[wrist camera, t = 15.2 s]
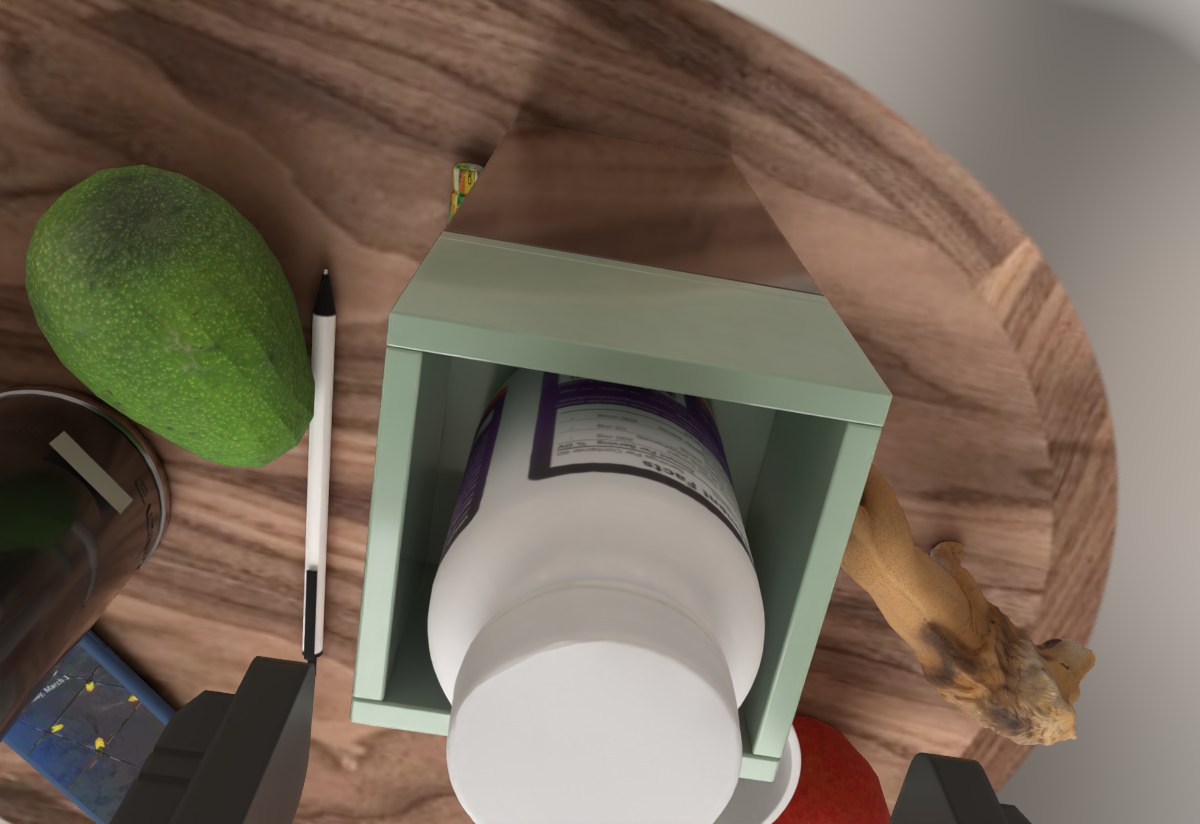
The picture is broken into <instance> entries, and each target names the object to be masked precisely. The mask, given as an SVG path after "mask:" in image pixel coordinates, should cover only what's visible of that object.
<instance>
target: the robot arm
mask: <svg viewBox="0 0 1200 824" xmlns="http://www.w3.org/2000/svg"><path fill="white" fill-rule="evenodd" d="M170 507H171V504H170V492H169V486H168V482H167V478H166V475H165V472H164V470H163V467H162V465H161V463H160V461H159V459H158V457H157V455H156V454H155V452H154V450H153V449H152V447H151V446H150V445H149V443H148V442H147V440H146V439H145V438H144V437H143V436H142V435H141V433H140V432H139V431H138V430H137V429H136V428H135V427H134V426H133V425H132V424H131V423H130V422H129V421H127V420H126V419H125V418H124V417H122V416H121V415H120V414H118V413H117V412H116V411H114V410H113V409H111V408H110V407H108V406H106V405H104V404H103V403H101V402H99V401H97V400H95V399H93V398H91V397H89V396H86V395H83V394H81V393H78V392H75V391H71V390H68V389H64V388H59V387H53V386H44V385H27V386H17V387H11V388H7V389H3V390H0V742H1V741H2V739H3V738H4V737H5V736H6V734H7V733H8V732H9V731H10V729H11V728H12V727H13V726H14V724H15V723H16V722H17V721H18V719H19V718H20V717H21V715H22V714H23V713H24V712H25V710H26V709H27V708H28V707H29V705H30V704H31V703H32V702H33V700H34V699H35V698H36V697H37V695H38V694H39V693H40V692H41V690H42V689H43V688H44V686H45V685H46V684H47V683H48V681H49V680H50V679H51V678H52V676H53V675H54V674H55V673H56V671H57V670H58V669H59V668H60V666H61V665H62V664H63V663H64V661H65V660H66V659H67V657H68V656H69V655H70V654H71V652H72V651H73V650H74V649H75V647H76V646H77V645H78V644H79V642H80V641H81V640H82V639H83V637H84V636H85V635H86V634H87V632H88V631H89V630H90V628H91V627H92V626H93V625H94V623H95V622H96V621H97V620H98V618H99V617H100V616H101V615H102V613H103V612H104V611H105V610H106V608H107V607H108V606H109V605H110V603H111V602H112V601H113V599H114V598H115V597H116V596H117V594H118V593H119V592H120V591H121V589H122V588H123V587H124V586H125V584H126V583H127V582H128V580H129V579H130V578H131V577H132V575H133V574H134V573H135V572H137V571H138V570H139V569H140V568H141V567H142V566H143V565H144V564H145V563H146V562H147V560H148V559H149V558H150V557H151V555H152V554H153V553H154V552H155V550H156V549H157V548H158V546H159V544H160V543H161V541H162V539H163V537H164V535H165V533H166V529H167V526H168V522H169V517H170ZM314 685H315V666H314V664H311V663H304V662H297V661H290V660H283V659H276V658H269V657H262V656H256V657H255V658H254V659H253V661H252V663H251V664H250V666H249V668H248V670H247V672H246V674H245V676H244V678H243V680H242V682H241V684H240V686H239V688H238V690H237V692H236V694H229V693H222V692H215V691H207V690H205V691H203V692H202V693H201V694H200V695H198V696H197V697H196V698H194V699H193V700H192V701H190V702H189V703H188V704H186V705H185V706H184V707H183V708H181V709H180V710H179V711H177V712H176V713H175V714H173V715H172V717H171V719H170V720H169V722H168V724H167V726H166V727H165V729H164V731H163V732H162V734H161V736H160V738H159V739H158V741H157V743H156V744H155V746H154V751H153V753H150V755H149V756H148V758H147V760H146V761H145V763H144V765H143V767H142V768H141V770H140V772H139V776H138V779H135V780H134V782H133V784H132V785H131V787H130V789H129V791H128V792H127V794H126V796H125V797H124V799H123V801H122V803H121V804H120V806H119V808H118V809H117V811H116V813H115V815H114V816H113V818H112V820H111V821H110V823H109V824H292V821H293V818H294V815H295V813H296V810H297V807H298V804H299V801H300V798H301V794H302V790H303V786H304V782H305V777H306V772H307V766H308V759H309V748H310V736H311V723H312V710H313V698H314ZM889 824H1031V822H1029V821H1028V819H1027V818H1026V817H1025V816H1024V815H1023V814H1022V813H1021V812H1020V811H1019V810H1018V809H1017V808H1016V807H1015V806H1013V805H1006V804H1000V803H999V801H998V799H997V797H996V795H995V792H994V790H993V788H992V786H991V784H990V782H989V780H988V778H987V776H986V774H985V772H984V770H983V768H982V766H981V765H980V764H979V763H978V762H977V761H975V760H971V759H964V758H957V757H950V756H943V755H936V754H929V753H918V754H917V755H916V756H915V757H914V758H913V760H912V762H911V764H910V767H909V769H908V772H907V775H906V777H905V780H904V783H903V786H902V788H901V791H900V794H899V797H898V799H897V802H896V805H895V807H894V810H893V813H892V816H891V818H890V821H889Z"/></svg>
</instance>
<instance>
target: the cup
mask: <svg viewBox="0 0 1200 824" xmlns="http://www.w3.org/2000/svg"><path fill="white" fill-rule="evenodd" d="M780 759H781V761H780V765H779V768H778V771H777V775H776V778H775V781H774V782H766V781H759V780H752V779H745V778H738V782H737V785H736V787H735V790H734V792H733V795H732V797H731V799H730V800H729V802H728V804H727V806H726V807H725V808H724V810H723V811H722V813H721V814H720V815H719V817H718V818H717V819H716V820H715V822H714V823H713V824H772V823H773V822H774V821H775V820H776V819H777V818H778V817H779V815H780V814H781V813H782V812H783V811H784V809H785V808H786V806H787V805H788V803H789V802H790V800H791V798H792V796H793V794H794V792H795V789H796V787H797V784H798V780H799V776H800V770H801V751H800V745H799V741H798V738H797V735H796V732H795V729H794V727H793V724H792V726H791V729H790V732H789V735H788V739H787V742H786V745H785V749H784V752H783V755H782V757H781V758H780Z"/></svg>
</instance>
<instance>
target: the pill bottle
mask: <svg viewBox="0 0 1200 824" xmlns="http://www.w3.org/2000/svg"><path fill="white" fill-rule="evenodd" d="M764 633H765V620H764V609H763V602H762V597H761V592H760V587H759V582H758V578H757V574H756V569H755V567H754V563H753V559H752V556H751V552H750V548H749V544H748V540H747V537H746V533H745V529H744V525H743V521H742V518H741V514H740V510H739V507H738V503H737V499H736V495H735V491H734V487H733V482H732V478H731V474H730V471H729V467H728V463H727V459H726V456H725V452H724V447H723V443H722V439H721V436H720V433H719V430H718V427H717V424H716V422H715V419H714V417H713V414H712V412H711V410H710V408H709V406H708V404H707V402H706V401H705V399H704V398H703V397H698V396H692V395H686V394H680V393H673V392H667V391H661V390H655V389H649V388H643V387H637V386H631V385H625V384H619V383H613V382H607V381H600V380H594V379H588V378H582V377H576V376H570V375H564V374H558V373H552V372H546V371H540V370H533V369H527V368H520V369H518V370H517V371H516V372H515V373H514V374H513V375H511V376H510V377H509V378H508V379H507V380H506V381H505V382H504V384H503V385H502V386H501V387H500V388H499V389H498V391H497V392H496V393H495V395H494V396H493V398H492V399H491V401H490V402H489V404H488V406H487V407H486V409H485V411H484V413H483V416H482V418H481V420H480V423H479V425H478V428H477V430H476V433H475V436H474V440H473V443H472V447H471V451H470V455H469V458H468V462H467V466H466V469H465V473H464V477H463V481H462V484H461V488H460V491H459V495H458V499H457V502H456V506H455V510H454V513H453V517H452V520H451V524H450V527H449V531H448V534H447V538H446V541H445V545H444V548H443V552H442V555H441V558H440V562H439V565H438V568H437V572H436V575H435V579H434V582H433V586H432V593H431V599H430V606H429V613H428V640H429V649H430V656H431V660H432V663H433V667H434V670H435V673H436V675H437V678H438V680H439V683H440V685H441V687H442V689H443V691H444V693H445V695H446V696H447V698H448V700H449V702H450V703H451V705H452V709H451V716H450V723H449V729H448V736H447V745H446V753H447V765H448V771H449V776H450V780H451V784H452V786H453V789H454V791H455V793H456V795H457V798H458V800H459V802H460V803H461V805H462V806H463V808H464V809H465V811H466V812H467V813H468V814H469V816H470V817H471V818H472V820H473V821H474V822H475V823H476V824H713V823H714V822H715V820H716V819H717V818H718V817H719V815H720V814H721V813H722V811H723V810H724V808H725V807H726V806H727V804H728V802H729V800H730V799H731V797H732V795H733V792H734V790H735V787H736V785H737V782H738V778H739V775H740V770H741V764H742V740H741V732H740V725H739V716H738V708H739V707H740V705H741V704H742V702H743V701H744V699H745V698H746V696H747V694H748V693H749V691H750V689H751V687H752V684H753V682H754V680H755V677H756V675H757V672H758V669H759V666H760V662H761V657H762V653H763V645H764Z"/></svg>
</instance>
